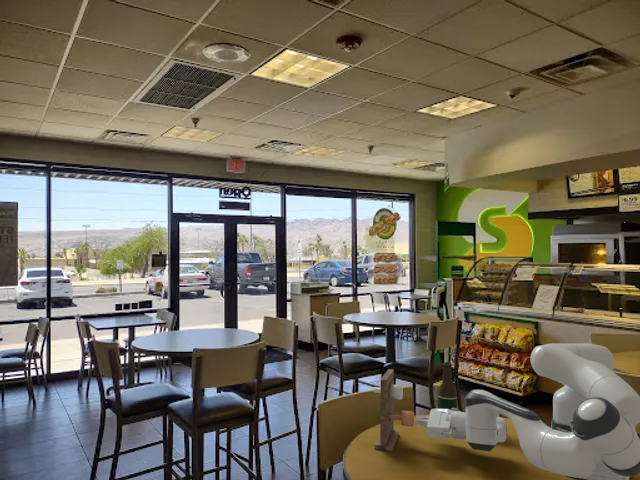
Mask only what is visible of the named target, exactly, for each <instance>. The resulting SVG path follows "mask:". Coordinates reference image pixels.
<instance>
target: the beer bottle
mask: <svg viewBox="0 0 640 480" xmlns="http://www.w3.org/2000/svg"><path fill="white" fill-rule="evenodd" d="M452 366H453V363H451V362H450V361H445V362H443V363H442V367H443V369H442V381H441V383H440V385H439V387H438V390H437V409H450V410H451V409H452V408H456V409H458V395H457V389H456V386H455V385H454V382H453V378H452V377H453V375H452V373H453V371H452Z"/></svg>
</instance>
